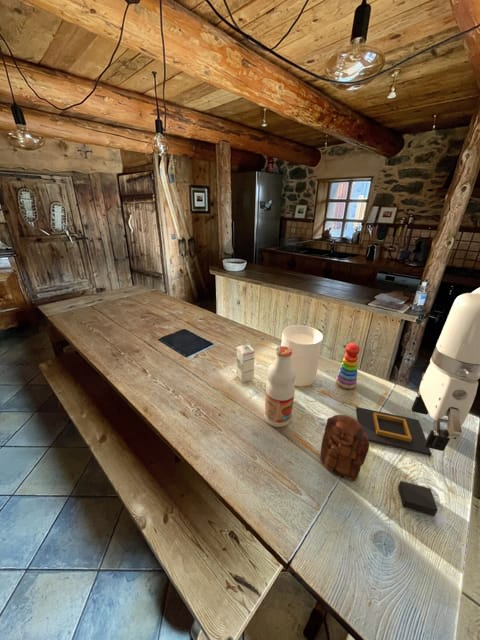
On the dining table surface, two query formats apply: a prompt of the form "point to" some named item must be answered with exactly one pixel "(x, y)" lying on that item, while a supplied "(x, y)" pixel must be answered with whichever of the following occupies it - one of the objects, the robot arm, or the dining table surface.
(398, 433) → the base pad
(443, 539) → the dining table surface
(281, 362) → the fruit juice
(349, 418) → the wooden figurine
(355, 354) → the stacking toy
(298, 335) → the canister
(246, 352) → the syrup box
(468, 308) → the robot arm
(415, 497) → the black pad
